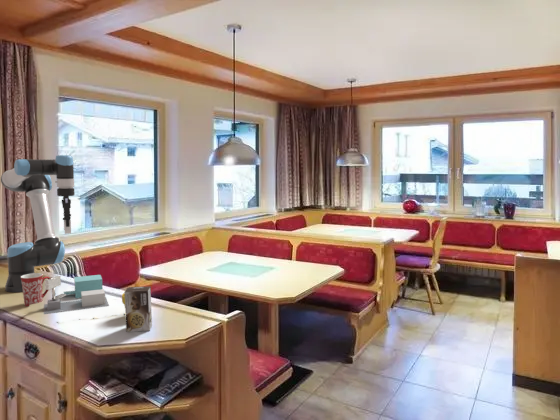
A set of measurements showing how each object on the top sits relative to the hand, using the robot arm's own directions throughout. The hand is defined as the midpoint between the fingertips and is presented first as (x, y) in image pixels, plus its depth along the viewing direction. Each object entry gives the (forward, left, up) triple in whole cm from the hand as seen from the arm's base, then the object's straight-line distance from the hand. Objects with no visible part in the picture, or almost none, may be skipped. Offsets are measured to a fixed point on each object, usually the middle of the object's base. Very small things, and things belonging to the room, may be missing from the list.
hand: (67, 231), depth 219 cm
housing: (+22, +2, -32) cm, 39 cm away
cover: (+5, +6, -32) cm, 33 cm away
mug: (+7, -14, -32) cm, 36 cm away
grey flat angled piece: (+21, -6, -27) cm, 35 cm away
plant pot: (+45, +24, -32) cm, 60 cm away
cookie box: (+61, +23, -32) cm, 73 cm away
